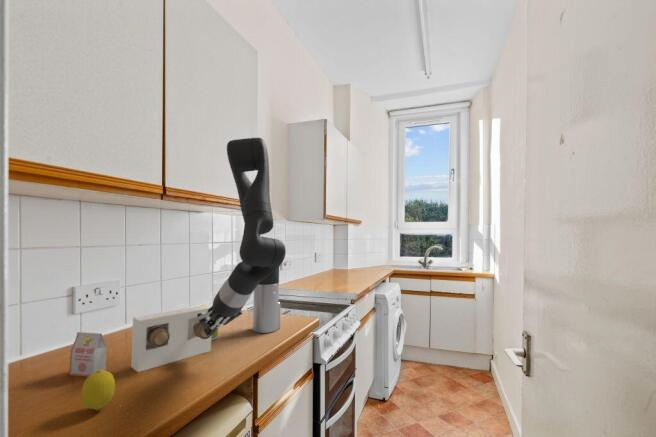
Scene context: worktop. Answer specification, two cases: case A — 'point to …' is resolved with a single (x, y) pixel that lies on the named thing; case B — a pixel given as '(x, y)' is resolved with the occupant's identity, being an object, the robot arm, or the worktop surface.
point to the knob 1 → (158, 336)
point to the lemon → (98, 389)
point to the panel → (179, 341)
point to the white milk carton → (87, 354)
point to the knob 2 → (200, 331)
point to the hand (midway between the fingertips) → (208, 332)
